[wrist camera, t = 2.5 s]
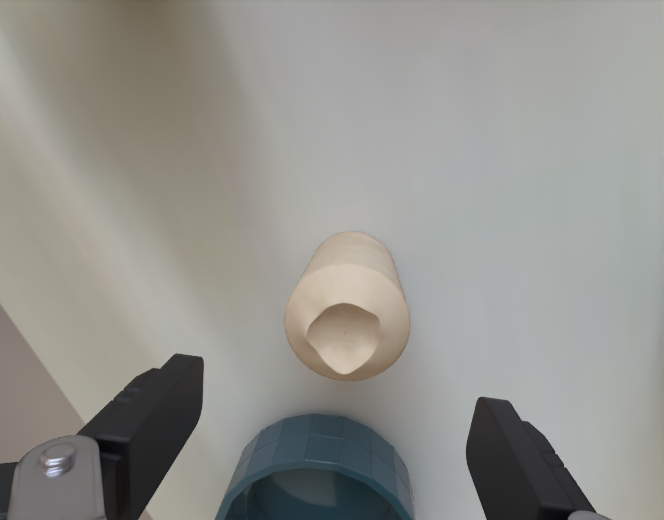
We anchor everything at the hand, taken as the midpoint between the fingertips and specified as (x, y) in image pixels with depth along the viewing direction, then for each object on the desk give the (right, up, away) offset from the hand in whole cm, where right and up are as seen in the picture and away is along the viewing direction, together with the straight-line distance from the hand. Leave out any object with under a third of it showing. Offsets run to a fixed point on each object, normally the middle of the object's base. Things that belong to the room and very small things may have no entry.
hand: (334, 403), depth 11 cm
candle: (+1, +3, +14) cm, 15 cm away
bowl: (-1, -13, +18) cm, 22 cm away
